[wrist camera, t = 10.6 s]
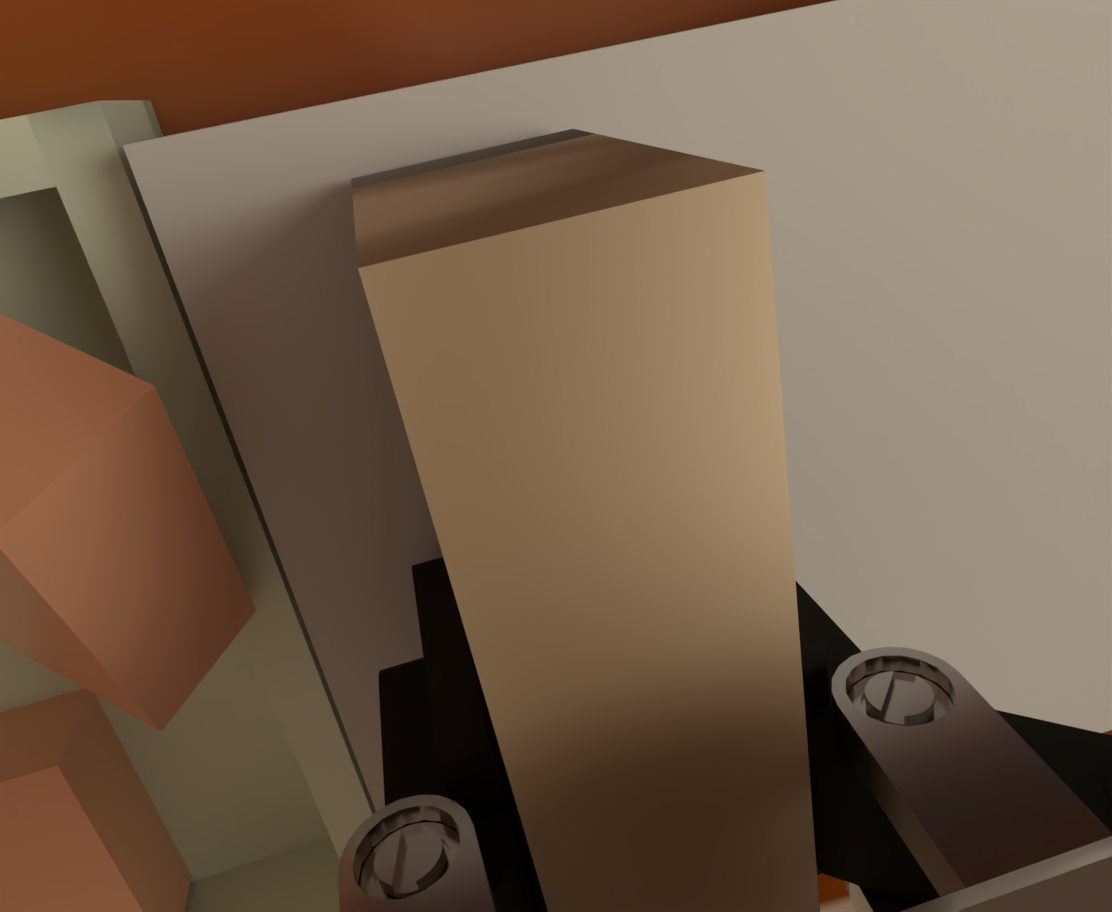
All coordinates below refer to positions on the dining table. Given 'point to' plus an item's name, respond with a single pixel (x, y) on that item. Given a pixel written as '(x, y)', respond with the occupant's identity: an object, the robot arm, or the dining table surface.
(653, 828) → the tan long block
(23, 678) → the box
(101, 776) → the tile
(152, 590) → the tile
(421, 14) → the dining table surface
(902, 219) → the bench board
